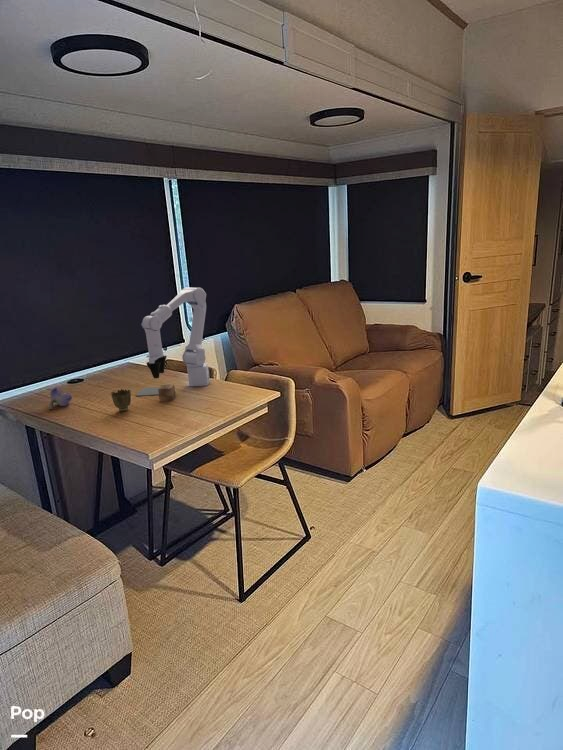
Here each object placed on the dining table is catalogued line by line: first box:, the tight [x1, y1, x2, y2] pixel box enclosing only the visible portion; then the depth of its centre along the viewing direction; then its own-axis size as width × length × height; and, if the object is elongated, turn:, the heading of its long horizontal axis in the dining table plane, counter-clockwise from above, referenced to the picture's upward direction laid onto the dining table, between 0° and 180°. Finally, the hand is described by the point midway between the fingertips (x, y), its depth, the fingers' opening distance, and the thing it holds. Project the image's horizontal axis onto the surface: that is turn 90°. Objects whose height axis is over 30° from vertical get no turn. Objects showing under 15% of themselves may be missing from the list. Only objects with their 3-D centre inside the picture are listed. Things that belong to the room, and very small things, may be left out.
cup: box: [110, 388, 132, 413], centre depth 192 cm, size 8×7×8 cm
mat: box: [135, 386, 160, 397], centre depth 215 cm, size 11×11×1 cm
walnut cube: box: [158, 383, 177, 402], centre depth 204 cm, size 6×6×6 cm
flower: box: [49, 386, 73, 410], centre depth 202 cm, size 9×9×10 cm
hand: (158, 375), depth 205 cm, fingers open, 7 cm apart
